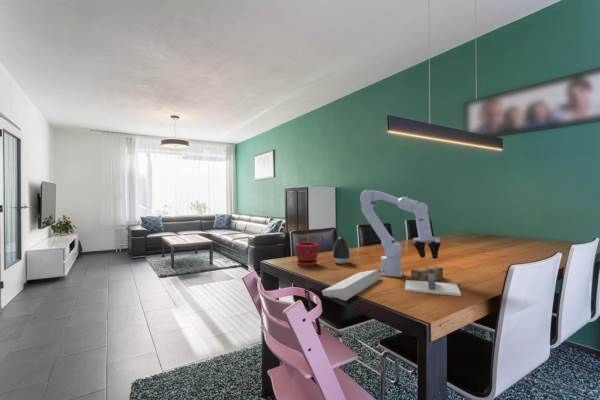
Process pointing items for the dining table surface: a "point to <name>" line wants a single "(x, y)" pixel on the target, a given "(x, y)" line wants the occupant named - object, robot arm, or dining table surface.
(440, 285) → the grey board
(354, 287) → the decorative molding
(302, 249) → the plant pot
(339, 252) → the dark grey rounded shape
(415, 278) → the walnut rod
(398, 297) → the dining table surface
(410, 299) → the dining table surface
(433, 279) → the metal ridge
